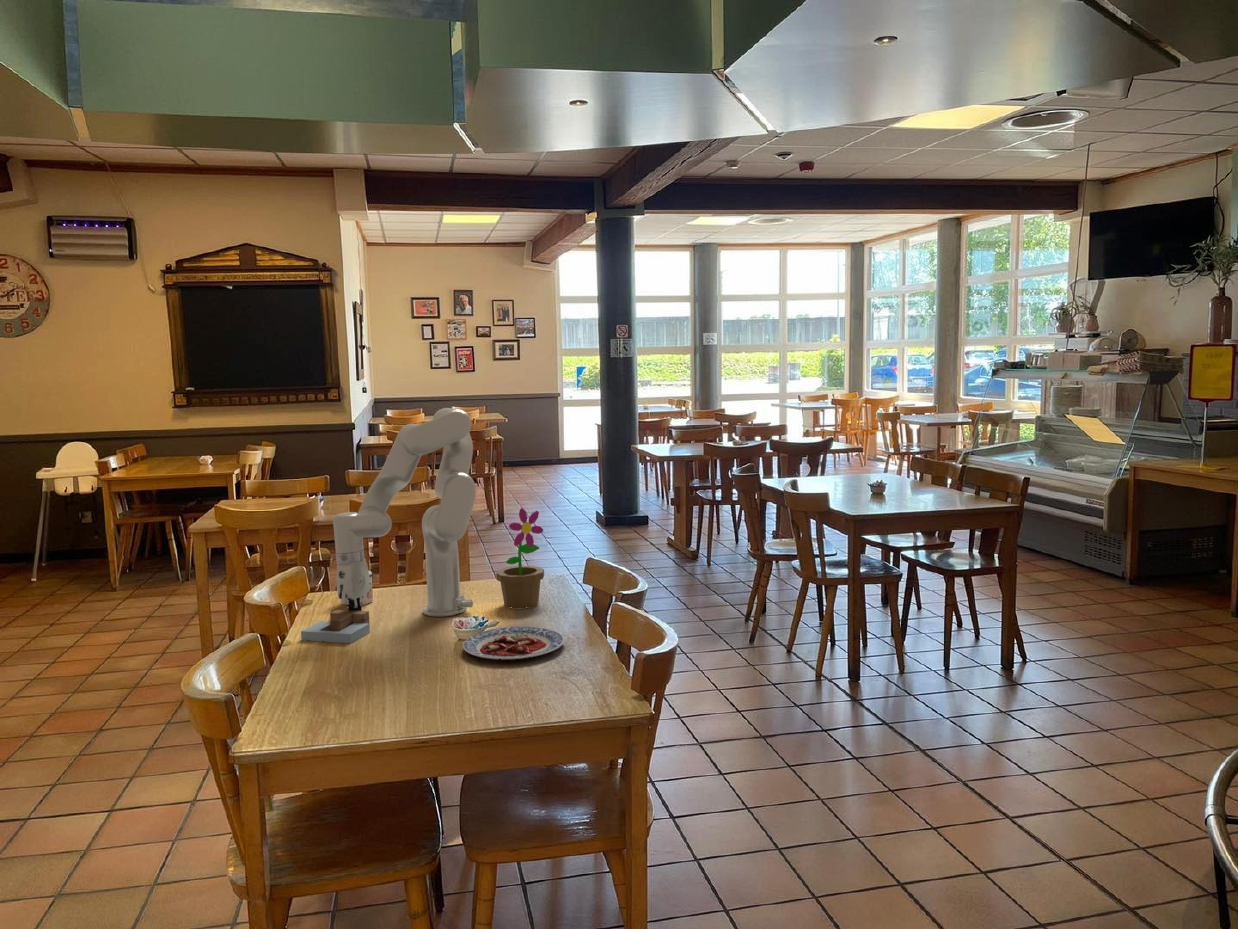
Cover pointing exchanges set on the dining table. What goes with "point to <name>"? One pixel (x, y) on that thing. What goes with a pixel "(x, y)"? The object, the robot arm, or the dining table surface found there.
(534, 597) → the flowerpot
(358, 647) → the dining table surface
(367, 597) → the teacup with lid
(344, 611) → the t block
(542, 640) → the ceramic plate
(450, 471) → the robot arm
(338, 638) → the dock
